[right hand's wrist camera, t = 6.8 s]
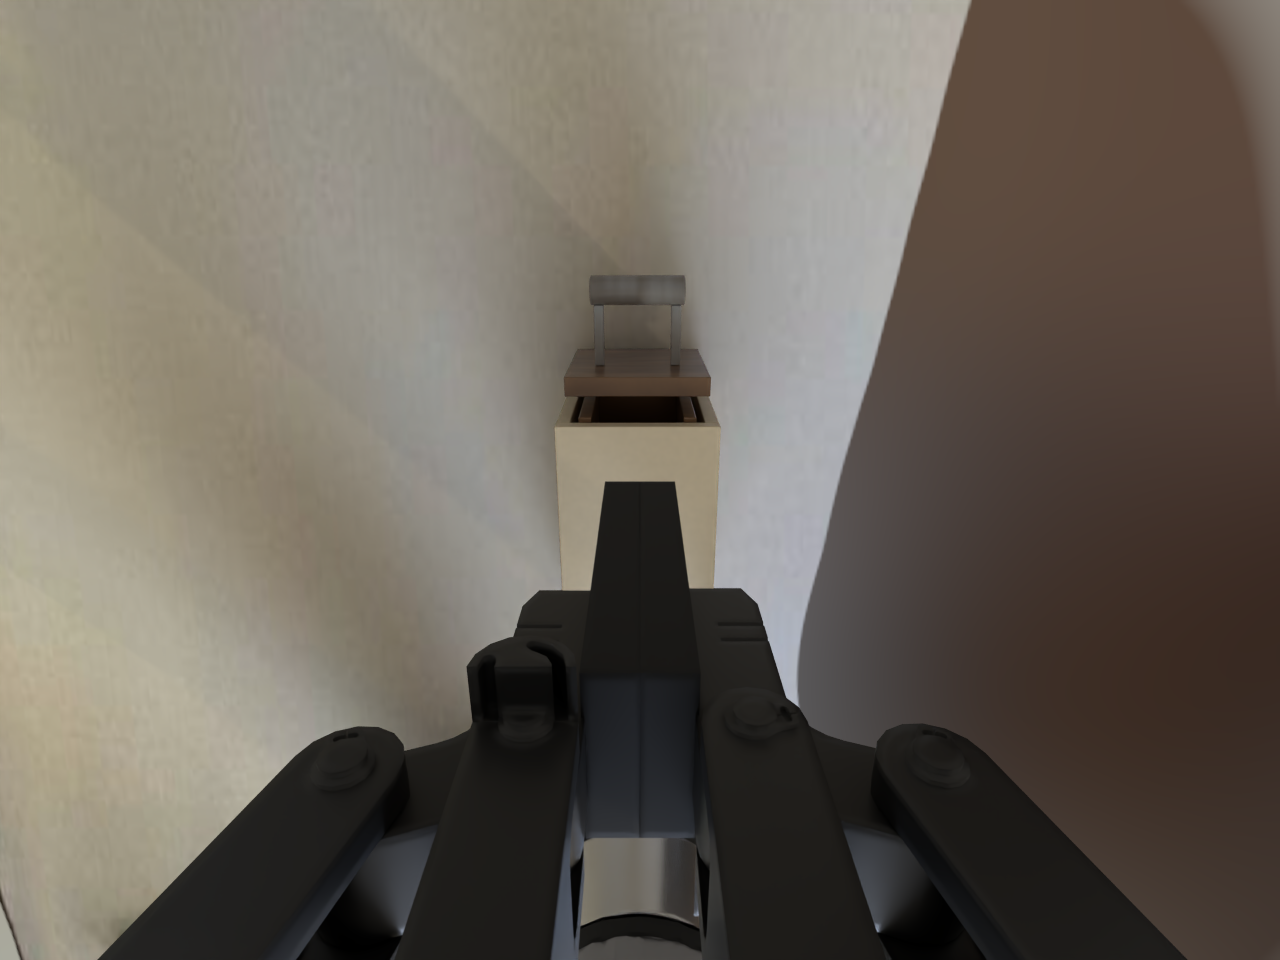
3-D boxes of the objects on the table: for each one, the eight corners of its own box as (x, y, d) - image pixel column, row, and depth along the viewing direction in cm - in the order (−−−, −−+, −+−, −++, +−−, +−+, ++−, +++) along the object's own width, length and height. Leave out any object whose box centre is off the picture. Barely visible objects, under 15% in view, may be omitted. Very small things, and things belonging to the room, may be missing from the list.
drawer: (574, 269, 47) (559, 280, 38) (700, 269, 47) (714, 280, 38) (584, 571, 56) (574, 637, 47) (691, 571, 56) (701, 637, 47)
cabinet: (571, 383, 51) (554, 426, 41) (703, 383, 51) (720, 426, 41) (579, 606, 58) (566, 693, 48) (696, 606, 58) (709, 692, 48)
